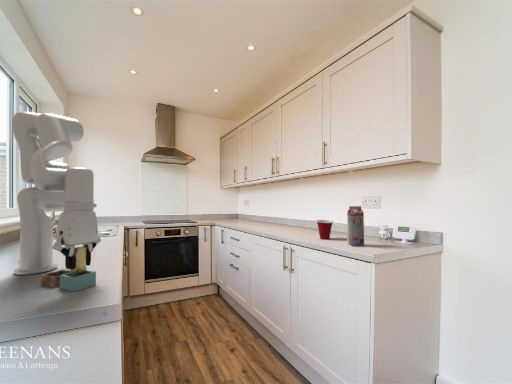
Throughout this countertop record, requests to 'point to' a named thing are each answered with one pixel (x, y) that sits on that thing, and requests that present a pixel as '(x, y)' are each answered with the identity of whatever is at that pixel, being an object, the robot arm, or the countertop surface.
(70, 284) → the block
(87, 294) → the countertop surface
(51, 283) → the socket block
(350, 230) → the juice carton
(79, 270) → the gold domed peg
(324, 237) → the plastic cup
